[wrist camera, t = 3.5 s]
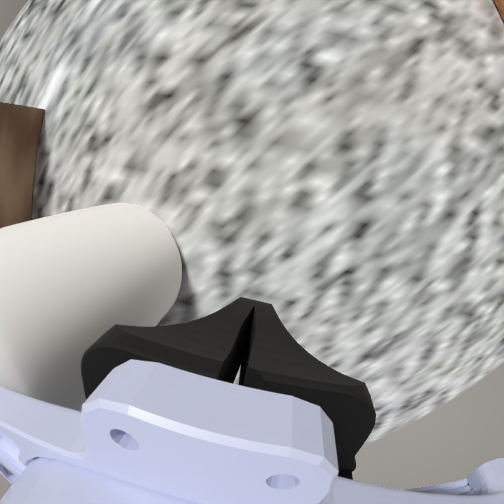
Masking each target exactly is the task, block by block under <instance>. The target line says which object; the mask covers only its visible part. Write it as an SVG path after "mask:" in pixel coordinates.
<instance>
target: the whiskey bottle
mask: <svg viewBox="0 0 504 504" xmlns="http://www.w3.org/2000/svg"><path fill="white" fill-rule="evenodd" d="M494 2H495V4H496V6H497V8H498V10H499V12H500V14H501V16H502V18H503V20H504V0H494Z"/></svg>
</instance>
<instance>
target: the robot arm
mask: <svg viewBox="0 0 504 504" xmlns="http://www.w3.org/2000/svg"><path fill="white" fill-rule="evenodd" d="M240 365H241V369H240V377H239V385H236V384H233V382H234V380H235V377H236V375H237V372H238V370H239V367H240ZM81 375H82V381H83V387H84V392H85V397H86V401H85V402H84V404H83V405H82V411H78V410H74V409H70V408H66V407H62V406H59V405H55V404H52V403H48V402H45V401H42V400H39V399H35V398H32V397H29V396H27V395H24V394H21V393H18V392H15V391H13V390H10V389H7V388H5V387H2V386H0V474H1V475H2V476H4V477H5V478H6V479H7V480H8V481H9V482H10V483H11V484H12V486H11V487H10V489H9V490H8V491H7V492H6V494H5V495H4V496H3V498H2V499H1V500H0V504H504V457H501V458H498V459H495V460H491V461H487V462H485V463H482V464H481V465H480V466H478V467H477V468H476V469H475V470H474V471H473V472H472V473H471V474H470V475H469V477H468V478H467V479H463V480H459V481H455V482H451V483H445V484H440V485H434V486H429V487H421V488H414V489H406V490H400V489H394V488H388V487H383V486H377V485H373V484H368V483H363V482H359V481H355V480H353V478H352V471H354V470H355V468H356V462H355V455H356V453H357V452H358V451H359V449H360V448H361V447H362V445H363V444H364V442H365V441H366V439H367V438H368V436H369V435H370V433H371V431H372V429H373V427H374V425H375V419H376V413H375V410H374V407H373V403H372V400H371V396H370V394H369V391H368V389H367V387H366V384H365V383H364V382H361V381H359V380H356V379H354V378H351V377H349V376H346V375H344V374H342V373H339V372H338V371H336V370H334V369H332V368H330V367H328V366H327V365H325V364H324V363H322V362H320V361H319V360H318V359H316V358H315V357H313V356H312V355H311V354H309V353H308V352H307V351H306V350H305V349H304V348H303V347H302V346H300V345H299V344H298V343H297V342H296V341H295V339H294V338H293V337H292V336H291V335H290V334H289V332H288V331H287V330H286V328H285V327H284V325H283V324H282V322H281V321H280V319H279V317H278V315H277V314H276V312H275V310H274V308H273V306H272V304H269V303H264V302H260V301H256V300H251V299H247V298H243V297H240V298H238V299H237V300H235V301H234V302H232V303H231V304H229V305H227V306H226V307H224V308H222V309H221V310H219V311H217V312H215V313H212V314H210V315H208V316H206V317H203V318H200V319H197V320H194V321H190V322H186V323H181V324H175V325H169V326H154V327H140V326H128V325H118V324H115V325H114V326H113V327H111V328H110V329H109V330H108V331H107V332H105V333H104V334H103V335H102V336H101V337H100V338H99V339H98V340H97V341H96V342H95V343H94V344H93V345H91V346H90V347H89V348H88V349H87V350H86V351H85V353H84V354H83V357H82V360H81ZM4 467H6V468H7V469H8V470H9V471H11V474H10V475H9V474H7V473H6V471H5V468H4Z"/></svg>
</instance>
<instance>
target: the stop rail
mask: <svg viewBox="0 0 504 504" xmlns="http://www.w3.org/2000/svg"><path fill="white" fill-rule="evenodd" d="M44 111H45V110H44V109H39V108H33V107H27V106H21V105H15V104H9V103H2V102H0V228H3V227H7V226H11V225H15V224H18V223H22V222H26V221H30V220H31V216H32V195H33V183H34V172H35V164H36V156H37V149H38V142H39V136H40V131H41V125H42V120H43V115H44Z"/></svg>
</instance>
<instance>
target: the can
mask: <svg viewBox="0 0 504 504" xmlns="http://www.w3.org/2000/svg"><path fill="white" fill-rule="evenodd" d="M181 279H182V263H181V257H180V253H179V250H178V247H177V245H176V242H175V240H174V238H173V236H172V235H171V233H170V231H169V230H168V229H167V227H166V226H165V225H164V224H163V222H162V221H161V220H160V219H159V218H158V217H156V216H155V215H154V214H153V213H151V212H150V211H148V210H146V209H145V208H143V207H140V206H138V205H134V204H130V203H113V204H107V205H101V206H95V207H90V208H85V209H80V210H75V211H70V212H65V213H61V214H56V215H52V216H47V217H43V218H39V219H35V220H30V221H26V222H22V223H18V224H15V225H11V226H7V227H3V228H0V386H2V387H5V388H7V389H10V390H13V391H15V392H18V393H21V394H24V395H27V396H29V397H32V398H35V399H39V400H42V401H45V402H48V403H52V404H55V405H59V406H62V407H66V408H70V409H74V410H78V411H82V405H83V404H84V402H85V401H86V397H85V392H84V387H83V381H82V375H81V360H82V357H83V354H84V353H85V351H86V350H87V349H88V348H89V347H90V346H91V345H93V344H94V343H95V342H96V341H97V340H98V339H99V338H100V337H101V336H102V335H103V334H104V333H105V332H107V331H108V330H109V329H110V328H111V327H113V326H114V325H115V324H118V325H128V326H140V327H154V326H156V325H157V324H158V323H159V322H160V320H161V319H162V318H163V317H164V316H165V315H166V313H167V312H168V311H169V310H170V308H171V307H172V306H173V304H174V303H175V301H176V299H177V296H178V294H179V290H180V286H181ZM4 468H5V471H6V473H7V474H9V475H10V474H11V471H9V470H8V469H7V468H6V467H4Z"/></svg>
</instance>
